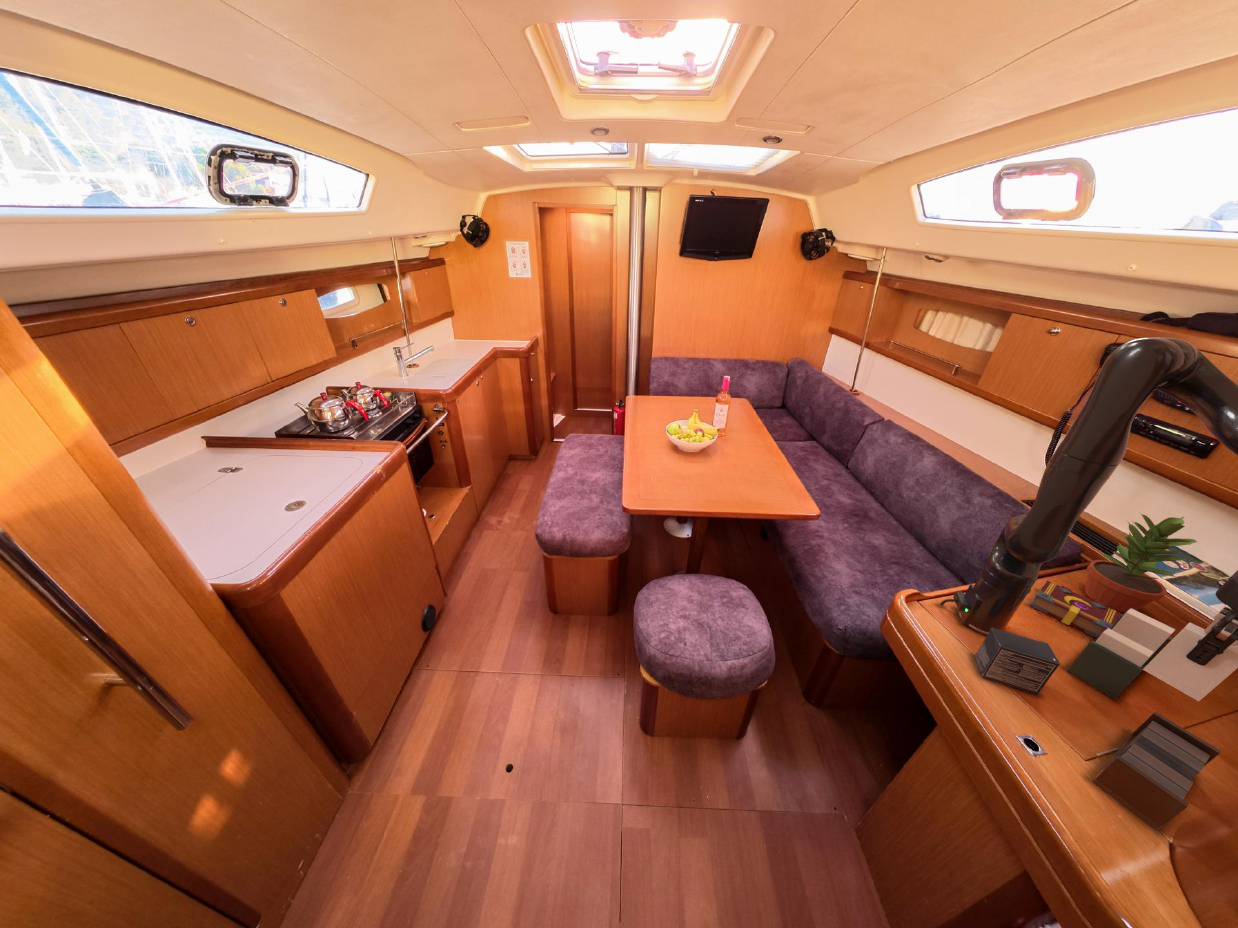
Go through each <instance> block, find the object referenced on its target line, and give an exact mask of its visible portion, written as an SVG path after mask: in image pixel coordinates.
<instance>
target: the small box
mask: <svg viewBox="0 0 1238 928" xmlns="http://www.w3.org/2000/svg"><path fill="white" fill-rule="evenodd" d="M973 658H974V661H975V664H976V667H977V670H978V672H979V675H980V676H981V677H982V678H984V679H986V680H990V681H994V682H996V683H998V684H999V683H1000V684H1002V685H1006V686H1009V687H1011V688H1014V689H1019V690H1021V691H1024V692H1028V693H1030V694H1034V695H1036V696H1037V695H1039V694H1040V693H1041V691H1042V690H1043V688H1044V687H1045V686H1046V684H1047V683H1048V681H1049V680H1050V679H1051V677H1052V676H1053V674H1054V673H1055V671H1056V670H1057V669H1058V667H1060V666H1061V662H1060V661H1059V659H1058V657H1057V656H1056V654H1055V652H1054V650H1053V649H1052V648H1051V646H1050V645H1049V643H1047V642H1044V641H1041V640H1037V639H1034V638H1031V637H1027V636H1023V635H1019V634H1015V633H1012V632H1010V631H1009V632H1008V631H1005V630H1004V631H1002V630H998V629H995V628H991V630H990V632H989V633H988V635H986V636H985V638H984V640H983V641H982V643H981V645H980V646H979V648H978V650H977V651H976V653H975V655H974V656H973Z"/></svg>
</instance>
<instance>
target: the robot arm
mask: <svg viewBox="0 0 1238 928" xmlns="http://www.w3.org/2000/svg"><path fill="white" fill-rule="evenodd" d="M1155 390H1157V391H1159V392H1161V393H1163V394H1165V395H1167V396H1169V397H1170V398H1173V399H1174V400H1176V401H1178V402H1179V403H1181V404H1182V405H1183V406H1185V407H1186V408H1188V409H1189V410H1190V411H1191V412H1192V413H1193V414H1194V415H1195V416H1196V417H1197V418H1198V419H1199V421H1201V422H1202V424H1203V425H1204V426H1205V427H1206V429H1207V430H1208V431H1209V432H1210V434H1212V436H1213V437H1214V438H1215V439H1217V441H1218V442H1219V443H1220V444H1221V445H1223V446H1224V447H1226V449H1228V450H1229V451H1231V452H1232V453H1233V454H1234V455H1236V457H1238V384H1237V382H1235V381H1234V380H1233V379H1231V378H1230V377H1229V376H1227V375H1226V373H1224V372H1223V371H1222V370H1221V369H1219V368H1218V367H1217V366H1216V365H1215V364H1214V363H1213V362H1212V361H1211V360H1210V359H1209V358H1208V357H1207V356H1206V355H1205V354H1204V353H1203V352H1202V351H1200V349H1198V348H1197V347H1196V346H1195V345H1194V344H1192V343H1191V342H1189V341H1188V340H1185V339H1181V338H1175V337H1143V338H1136V339H1133V340H1130V341H1127V342H1125V343H1123V344H1121V345H1119V346H1118V347H1116V349H1114V350H1113V351H1112V352H1111V353H1110V354H1109V355H1108V356H1107V358H1106V359H1105V361H1104V362H1103V364H1102V366H1101V369H1100V371H1099V373H1098V375H1097V378H1096V379H1095V381H1094V384H1093V387H1092V389H1091V391H1090V394H1089V395H1088V398H1087V399H1086V401H1085V403H1084V405H1083V407H1082V409H1081V410H1080V412H1079V413H1078V415H1077V417H1076V418H1075V419H1074V421H1073V422H1072V424H1071V426H1070V427H1069V429H1068V431H1067V433H1065V436H1064V437H1063V439H1062V440H1061V441H1060V443H1059V444H1058V446H1057V448H1056V449H1055V451H1054V452H1053V454H1052V456H1051V457H1050V459H1049V461H1048V462H1047V465H1046V467H1045V468H1044V471H1043V473H1042V477H1041V480H1040V482H1039V486H1038V489H1037V492H1036V496H1035V500H1034V502H1033V504H1032V506H1031V508H1030V509H1029V511H1028V512H1027V514H1021V515H1017V516H1015V517H1013V518H1011V519H1010V520H1008V521H1007V522H1006V523H1005V525H1004V526H1003V528H1002V529H1001V532H1000V533H999V535H998V536H997V539H996V541H995V543H994V545H993V547H992V549H991V551H990V554H989V557H988V560H987V562H986V564H985V565H984V567H983V569H982V570H981V573H980V574H979V576H978V578H977V580H976V581H975V584H971V583H970V585H968V587H967V589H966V590H965V592H963V591H959V590H956V591H955V592H954V594H953V596H952V598H947V599H943V600H942V601H941V602H940V603H939V605H940V606H941V607H942V606H944V605H945V604H946V603H955V605H956V608H955V609H956V613H957V615H958V617H959V619H960V622H961V625H962V626H965V627H968V628H970V629H971V630H973V631H975V632H977V633H979V634H981V635H984V636H987V635H988V633H989V632H990V630H991V628H995V629H998V630H1002V631H1005V629H1006V628H1007V626H1008V624H1009V623H1010V621H1011V620H1012V618H1013V617H1014V616H1015V614H1016V613H1017V611H1018V610H1019V608H1020V606H1021V604H1022V603H1023V602H1024V600H1025V598H1026V597H1027V595H1028V594H1029V592H1031V589H1032V588H1033V586H1034V584H1035V583H1036V582H1037V580H1038V578H1039V575H1040V571H1041V567H1042V565H1043V564H1045V563H1048V562H1051V561H1053V560H1054V559H1055V558H1056V557H1058V556H1059V555H1060V553H1061V552H1062V550H1063V548H1064V546H1065V544H1066V541H1067V540H1068V537H1069V535H1070V534H1071V532H1072V530H1073V528H1074V526H1075V524H1076V522H1077V521H1078V519H1079V517H1080V516H1081V515H1082V514H1083V513H1084V511H1085V510H1086V509H1087V507H1089V505H1090V504H1091V503H1092V501H1093V500H1094V499H1095V497H1097V495H1098V493H1099V492H1100V491H1101V489H1102V488H1103V487H1104V485H1105V484H1106V483H1107V481H1108V480H1109V479H1110V478H1111V476H1112V475H1113V474H1114V472H1115V471H1116V469H1117V468H1118V467H1119V465H1120V464H1121V463H1122V461H1123V459H1124V457H1125V455H1126V452H1127V450H1128V445H1129V440H1130V433H1131V429H1132V424H1133V421H1134V419H1135V417H1136V415H1137V413H1139V411H1140V409H1141V408H1142V406H1143V405H1144V404H1145V402H1146V401H1147V400H1148V398H1149V397H1150V396H1151V395H1152V393H1153V392H1154V391H1155ZM1215 597H1216V598H1217V599H1218V601H1219V602H1221V603H1222V604H1224V607H1223V608H1222V609H1221V610H1220V611H1219V612H1218V613H1217V614H1216V615H1215V616H1214V617H1213V621H1212V622H1210V623H1209V625H1208V626H1207V627H1206V628H1205V630H1204V632H1205V633H1206V636H1204V637H1203V638H1202V639H1199V640H1198V643H1197V645H1196V646H1195V647H1194V648H1193V649H1192V650H1191V651H1190V652H1189V653H1188V654H1187V655H1186V657H1187V658H1188V659H1189V660H1191V661H1193V662H1195V663H1197V664H1199V665H1202V666H1205V665H1206V664H1207V663H1208V662H1210V661H1211V660H1212V659H1213V658H1214V657H1215V656H1216V655H1217V654H1218V655H1220V654H1223V653H1224V650H1226V649H1227V648H1228V647H1229V646H1230V645H1231V646H1236V645H1238V569H1237V570H1236V571H1235V572H1234V573H1233V574H1232V575H1231V576H1230V577H1228V579H1227V580H1226V581H1225V582H1224V583H1223V584H1222V585H1221V586H1220V587H1219V588H1218V589H1217V590H1216V591H1215Z"/></svg>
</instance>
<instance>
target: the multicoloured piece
mask: <svg viewBox="0 0 1238 928" xmlns="http://www.w3.org/2000/svg"><path fill="white" fill-rule="evenodd" d="M1175 631H1176V628H1173V627H1171V626H1169V625H1167V624H1165V623H1163V622H1161V621H1160V620H1157V619H1155V618H1152V617H1150V616H1148V615H1146V614H1144V613H1141V612H1140V611H1138V610H1137V611H1136V610H1134V609H1132V608H1131V609H1130V610H1128V611H1127V612H1126V613H1125V612H1124V613H1122V614H1120V616H1119V619H1118V620H1117V621H1116V622H1115V623H1114V625H1113V626H1112V627H1111V628H1110V629H1109V628H1108V629H1106V630H1105V631H1104V632H1103V633H1102V634H1101V635H1100V637H1099V638H1098V639H1097V638H1096V640H1095V641H1094V640H1090V641H1089V643H1088V644H1087V645H1086V646H1085V648H1083V650H1082V651H1081V653H1080V654H1079V655H1078V656H1077V657H1076V659H1075V660H1074V661H1073V662H1072V664H1071V665H1070V666H1069V667H1068V668H1067V670H1066V671H1067V672H1069V673H1070V674H1072V675H1073V676H1075V677H1078V678H1079V679H1080V680H1082V681H1083V682H1086V683H1087V684H1088V685H1090V686H1092V687H1093V688H1095V689H1096V690H1097V691H1100V692H1102V693H1103V694H1104V695H1106V696H1108V697H1109V698H1110V699H1113V700H1116V699H1117V698H1118V697H1119V696H1120V695H1121V694H1122V693H1123V692H1124V691H1125V690H1126V688H1128V686H1129V685H1130V684H1131V683H1132V682H1133V681H1134V680H1135V679H1136V678H1137V677H1138V676H1139V675H1140V674H1141V673H1142V672H1143V671H1144V670H1143V669H1144V668H1145V667H1146V666H1147V665H1148V664H1149V663H1150V662H1151V661H1152V660H1153V659H1154V658H1155V657H1156V656H1157V655H1158V654H1159V653H1160V652H1161V651H1162V650H1163V649H1164V648H1165V647H1166V646H1167V645H1168V644H1169V643H1170V642H1171V641H1172V640H1173V638H1172V637H1171V635H1172V634H1173V633H1174V632H1175Z"/></svg>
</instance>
